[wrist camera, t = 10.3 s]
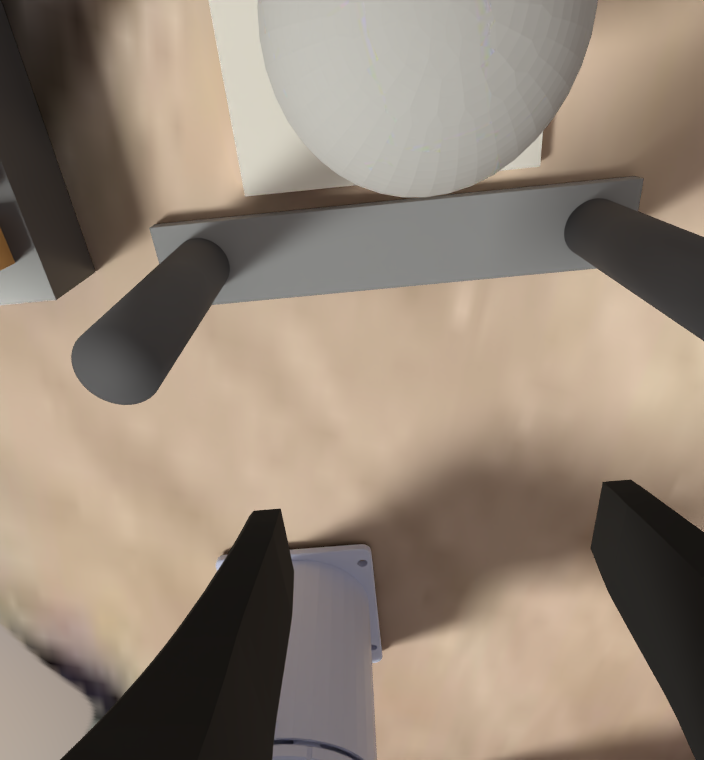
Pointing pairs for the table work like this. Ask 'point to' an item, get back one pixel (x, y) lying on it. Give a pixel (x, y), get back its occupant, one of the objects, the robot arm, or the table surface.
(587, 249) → the cable posts
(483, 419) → the table surface
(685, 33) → the table surface
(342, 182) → the mat
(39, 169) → the terminal block
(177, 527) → the table surface
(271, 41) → the light bulb
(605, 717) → the table surface
